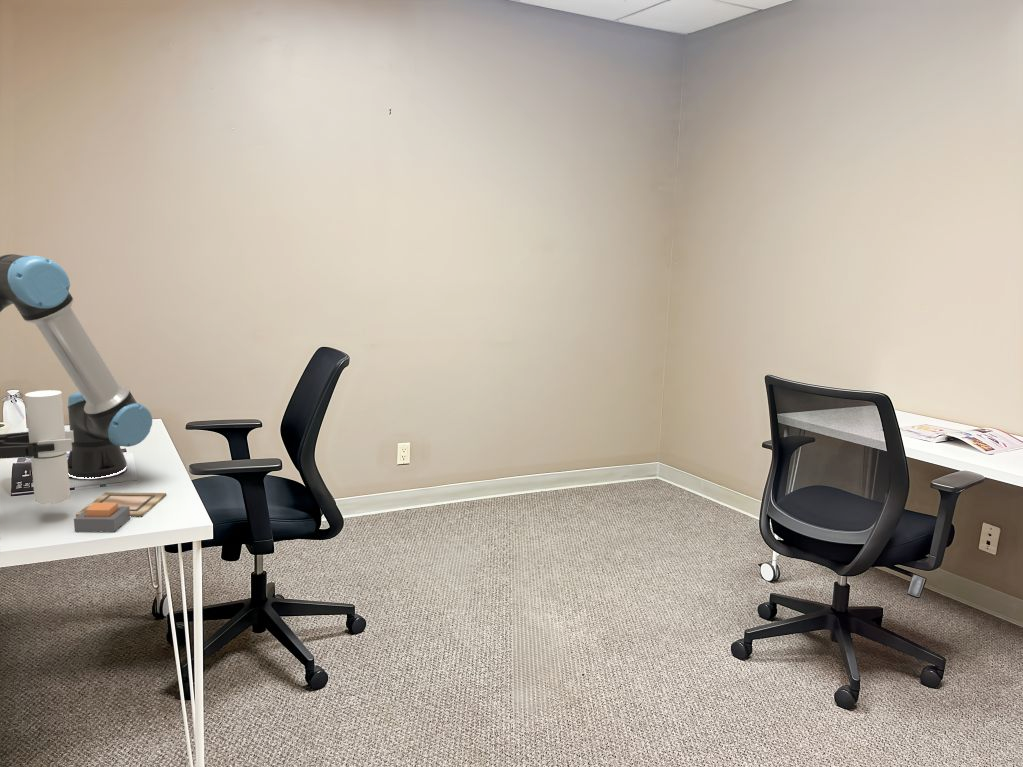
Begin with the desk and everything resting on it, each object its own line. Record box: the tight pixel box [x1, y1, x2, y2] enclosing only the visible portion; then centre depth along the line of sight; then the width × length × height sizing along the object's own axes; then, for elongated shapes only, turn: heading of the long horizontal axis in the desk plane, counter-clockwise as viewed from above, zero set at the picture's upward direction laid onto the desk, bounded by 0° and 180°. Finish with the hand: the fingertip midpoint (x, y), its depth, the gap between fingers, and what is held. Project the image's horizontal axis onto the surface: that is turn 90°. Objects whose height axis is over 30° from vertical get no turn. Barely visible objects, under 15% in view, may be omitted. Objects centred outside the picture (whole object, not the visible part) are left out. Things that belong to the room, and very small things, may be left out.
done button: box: [86, 503, 118, 517], centre depth 179 cm, size 5×5×3 cm
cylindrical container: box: [24, 389, 71, 505], centre depth 180 cm, size 7×7×25 cm
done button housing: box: [73, 506, 131, 533], centre depth 179 cm, size 9×9×3 cm
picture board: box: [75, 491, 167, 518], centre depth 193 cm, size 16×15×1 cm
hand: (72, 440), depth 182 cm, fingers closed on cylindrical container, 7 cm apart
